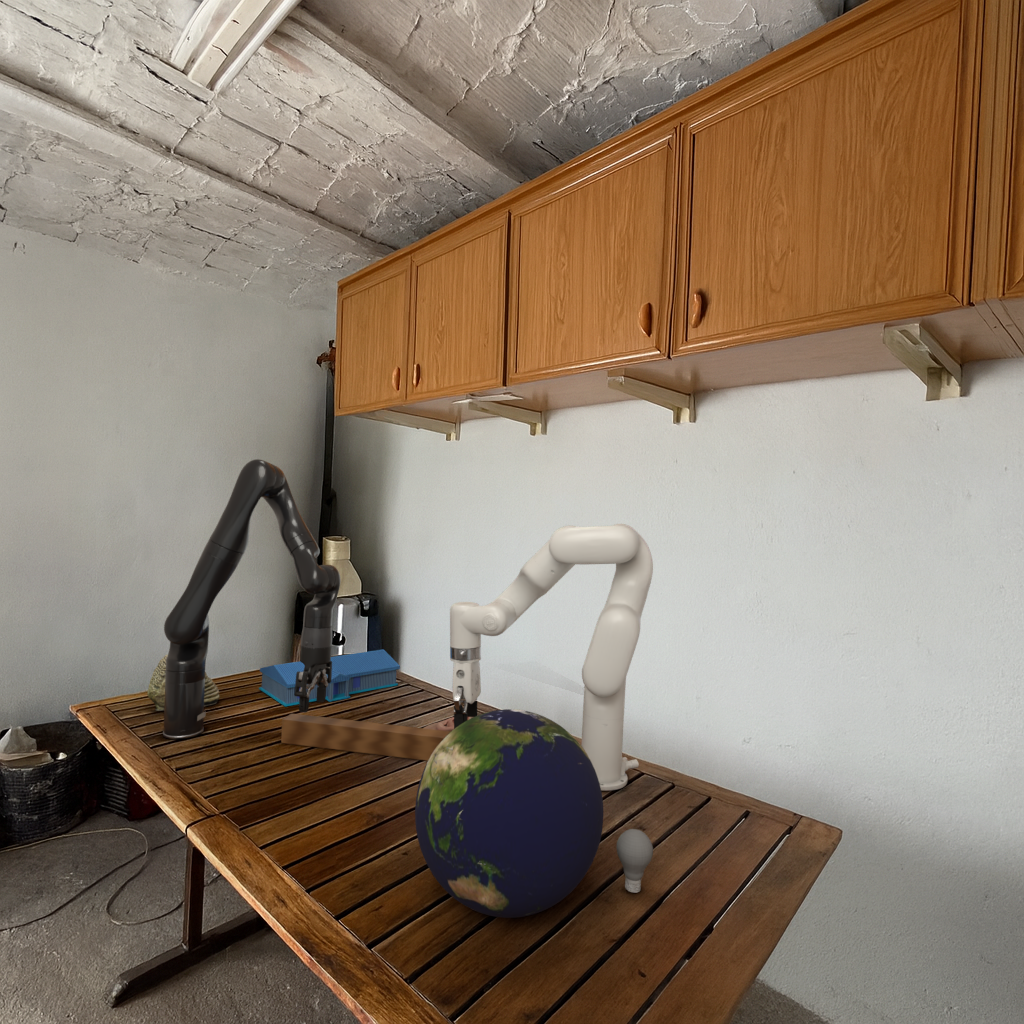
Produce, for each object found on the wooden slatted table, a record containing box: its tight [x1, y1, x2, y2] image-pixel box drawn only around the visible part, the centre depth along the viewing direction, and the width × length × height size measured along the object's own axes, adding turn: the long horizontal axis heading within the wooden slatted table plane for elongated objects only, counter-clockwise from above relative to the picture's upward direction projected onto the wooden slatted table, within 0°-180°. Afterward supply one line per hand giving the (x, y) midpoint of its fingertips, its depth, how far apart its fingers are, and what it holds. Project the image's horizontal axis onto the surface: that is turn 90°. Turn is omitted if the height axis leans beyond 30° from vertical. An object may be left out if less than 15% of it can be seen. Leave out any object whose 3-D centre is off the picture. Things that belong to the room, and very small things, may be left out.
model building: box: [258, 649, 401, 707], centre depth 208 cm, size 39×24×10 cm, turn 132°
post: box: [280, 713, 451, 762], centre depth 159 cm, size 54×5×6 cm, turn 80°
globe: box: [414, 708, 604, 919], centre depth 101 cm, size 30×30×30 cm
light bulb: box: [615, 828, 654, 894], centre depth 106 cm, size 6×6×10 cm
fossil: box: [147, 654, 221, 712], centre depth 185 cm, size 9×18×15 cm, turn 132°
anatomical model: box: [423, 716, 472, 731], centre depth 174 cm, size 13×4×12 cm
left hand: (312, 706), depth 161 cm, fingers open, 8 cm apart
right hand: (466, 723), depth 155 cm, fingers open, 9 cm apart
